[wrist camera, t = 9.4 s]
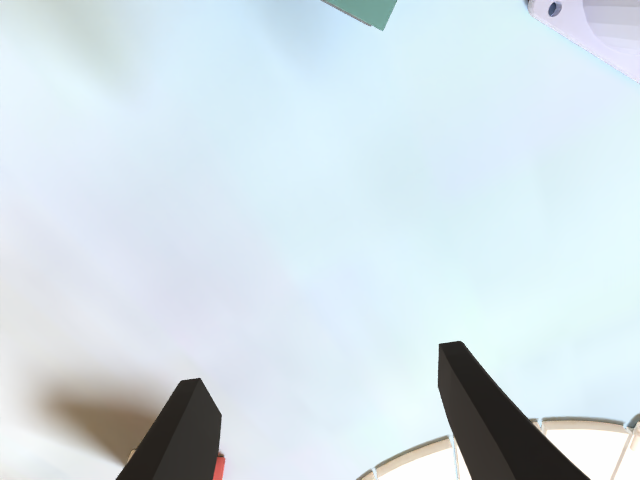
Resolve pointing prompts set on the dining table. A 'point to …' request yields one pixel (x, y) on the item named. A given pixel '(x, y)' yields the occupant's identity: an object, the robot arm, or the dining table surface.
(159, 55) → the dining table surface
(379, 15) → the stand
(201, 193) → the dining table surface
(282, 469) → the dining table surface
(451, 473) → the lazy susan
